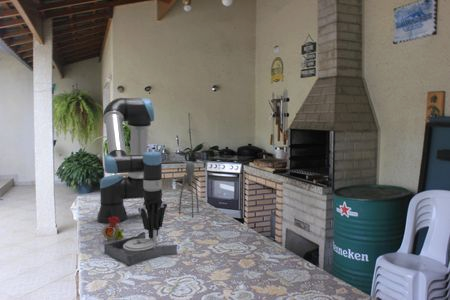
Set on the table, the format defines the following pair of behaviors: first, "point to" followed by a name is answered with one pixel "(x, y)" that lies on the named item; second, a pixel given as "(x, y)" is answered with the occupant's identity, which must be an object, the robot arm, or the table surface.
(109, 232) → the bird rattle
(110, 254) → the steel bracket
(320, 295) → the table surface
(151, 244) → the grey pulley wheel
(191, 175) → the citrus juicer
